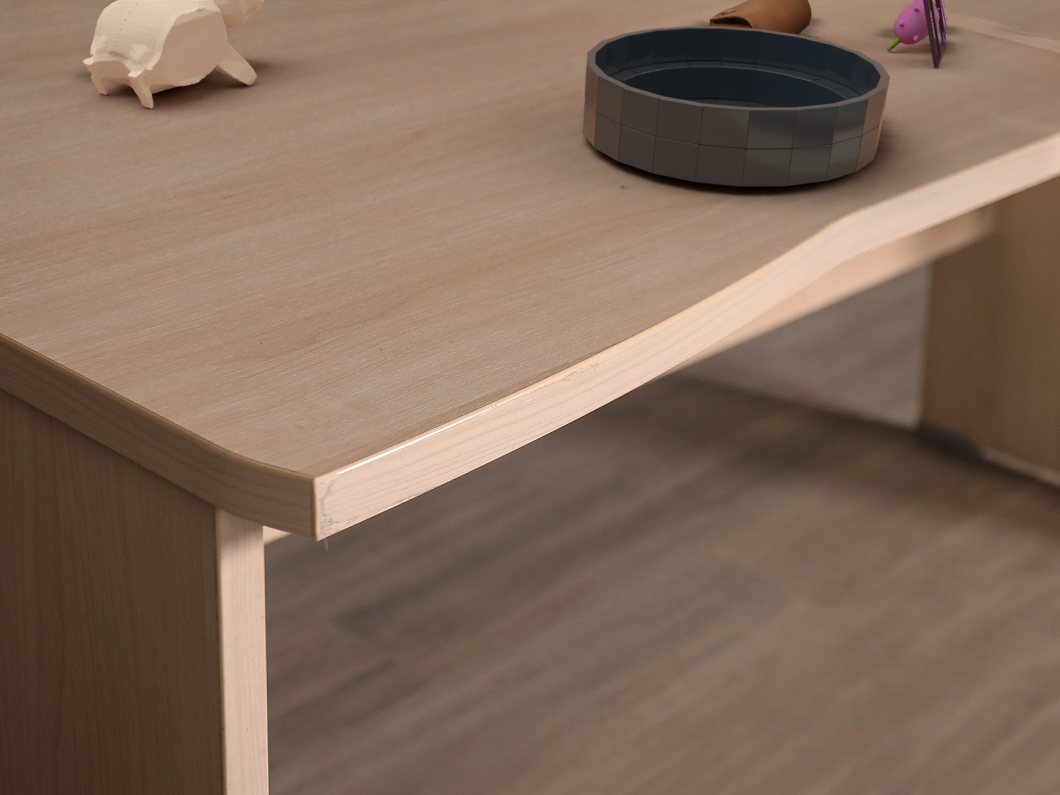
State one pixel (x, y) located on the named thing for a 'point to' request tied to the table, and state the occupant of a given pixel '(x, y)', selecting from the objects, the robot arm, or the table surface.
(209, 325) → the table surface
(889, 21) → the table surface
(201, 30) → the white animal figurine
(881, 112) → the bowl
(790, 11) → the sunglasses case
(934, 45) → the pink bumpy toy
